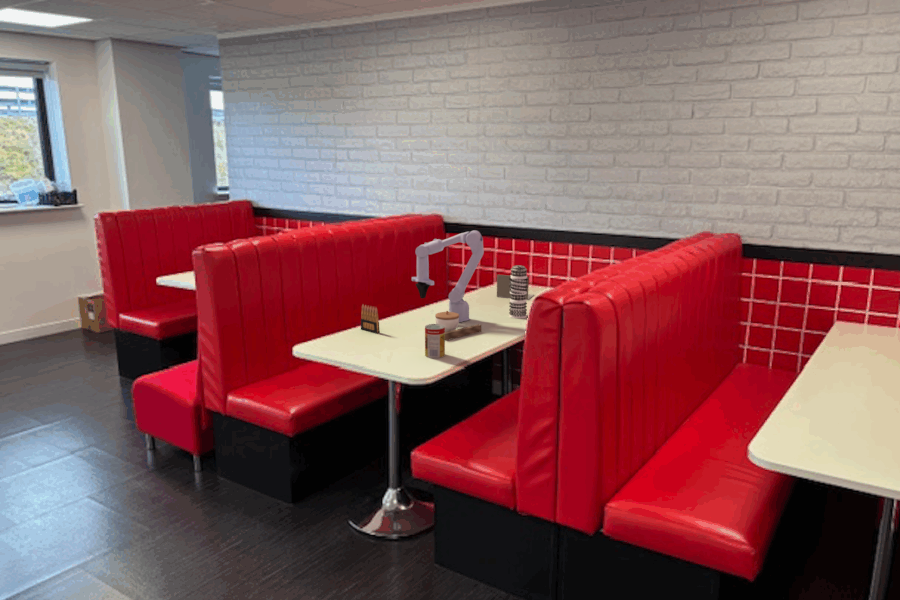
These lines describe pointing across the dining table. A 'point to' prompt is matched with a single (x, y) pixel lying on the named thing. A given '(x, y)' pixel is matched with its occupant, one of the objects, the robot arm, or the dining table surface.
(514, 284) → the decorative candle
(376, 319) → the ammunition clip
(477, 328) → the walnut rail
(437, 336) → the canned food
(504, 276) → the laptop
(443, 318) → the lidded jar
